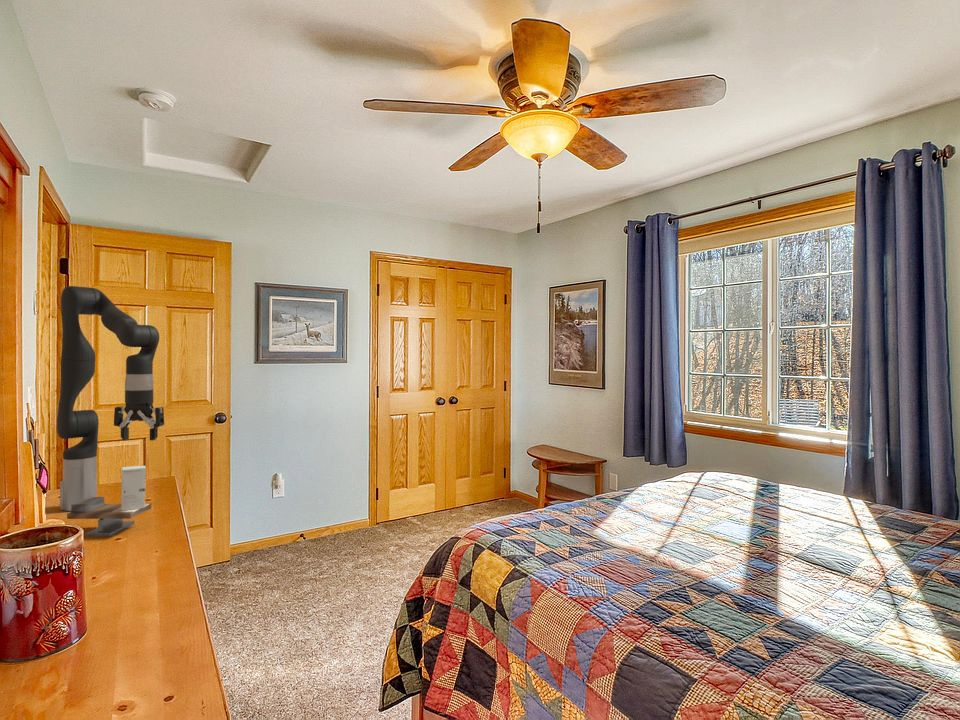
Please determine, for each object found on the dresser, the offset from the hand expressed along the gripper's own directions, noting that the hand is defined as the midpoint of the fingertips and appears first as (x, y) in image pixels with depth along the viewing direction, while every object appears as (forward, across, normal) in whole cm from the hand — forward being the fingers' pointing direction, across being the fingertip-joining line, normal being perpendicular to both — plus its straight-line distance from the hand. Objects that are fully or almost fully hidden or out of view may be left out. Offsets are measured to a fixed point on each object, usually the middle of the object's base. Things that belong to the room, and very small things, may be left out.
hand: (139, 439), depth 164 cm
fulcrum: (+26, +3, +9) cm, 27 cm away
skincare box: (+19, -4, +9) cm, 21 cm away
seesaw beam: (+20, +3, +9) cm, 22 cm away
